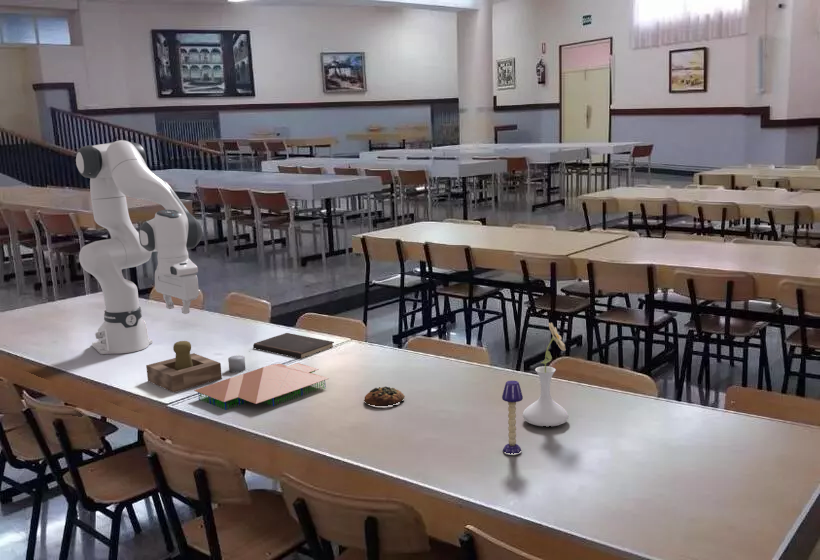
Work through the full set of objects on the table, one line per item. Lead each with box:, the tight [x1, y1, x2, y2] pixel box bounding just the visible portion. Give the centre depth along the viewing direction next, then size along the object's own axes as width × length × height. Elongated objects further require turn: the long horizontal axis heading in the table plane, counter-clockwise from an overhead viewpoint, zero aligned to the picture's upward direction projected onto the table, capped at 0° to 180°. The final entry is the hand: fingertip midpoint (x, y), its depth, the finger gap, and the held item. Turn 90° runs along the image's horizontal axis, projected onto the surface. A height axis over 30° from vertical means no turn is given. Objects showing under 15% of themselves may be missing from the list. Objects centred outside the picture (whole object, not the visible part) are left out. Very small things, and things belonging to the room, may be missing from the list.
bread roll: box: [363, 386, 406, 406], centre depth 214 cm, size 11×11×5 cm
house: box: [193, 362, 330, 411], centre depth 224 cm, size 23×33×8 cm
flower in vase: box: [521, 322, 570, 428], centre depth 194 cm, size 13×11×25 cm
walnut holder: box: [146, 352, 223, 393], centre depth 237 cm, size 16×16×5 cm
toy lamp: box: [501, 380, 523, 454], centre depth 177 cm, size 5×5×17 cm
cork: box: [172, 340, 193, 371], centre depth 237 cm, size 6×6×11 cm
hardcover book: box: [252, 332, 335, 359], centre depth 268 cm, size 16×23×2 cm
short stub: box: [227, 354, 246, 373], centre depth 246 cm, size 5×5×4 cm
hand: (177, 310), depth 234 cm, fingers open, 8 cm apart
